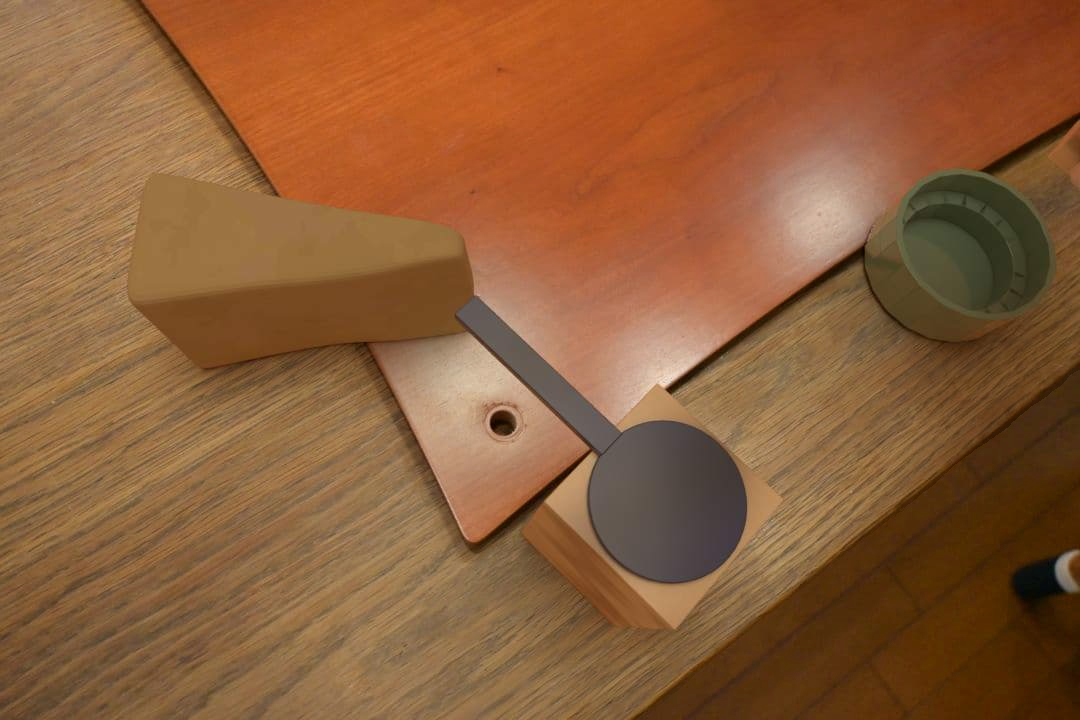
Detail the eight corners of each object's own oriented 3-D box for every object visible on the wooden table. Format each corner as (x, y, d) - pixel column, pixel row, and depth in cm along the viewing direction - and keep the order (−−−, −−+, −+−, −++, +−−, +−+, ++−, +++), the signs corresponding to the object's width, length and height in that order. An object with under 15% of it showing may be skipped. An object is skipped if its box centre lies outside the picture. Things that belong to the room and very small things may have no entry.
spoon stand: (696, 530, 62) (790, 497, 45) (613, 626, 60) (679, 631, 42) (506, 349, 66) (523, 251, 48) (418, 432, 63) (402, 360, 45)
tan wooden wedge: (474, 270, 68) (477, 178, 53) (471, 377, 65) (474, 311, 50) (209, 260, 66) (140, 162, 51) (194, 371, 62) (116, 299, 48)
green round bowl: (1037, 273, 73) (1085, 244, 67) (956, 374, 69) (1000, 353, 63) (917, 175, 75) (954, 140, 70) (832, 268, 71) (864, 238, 65)
